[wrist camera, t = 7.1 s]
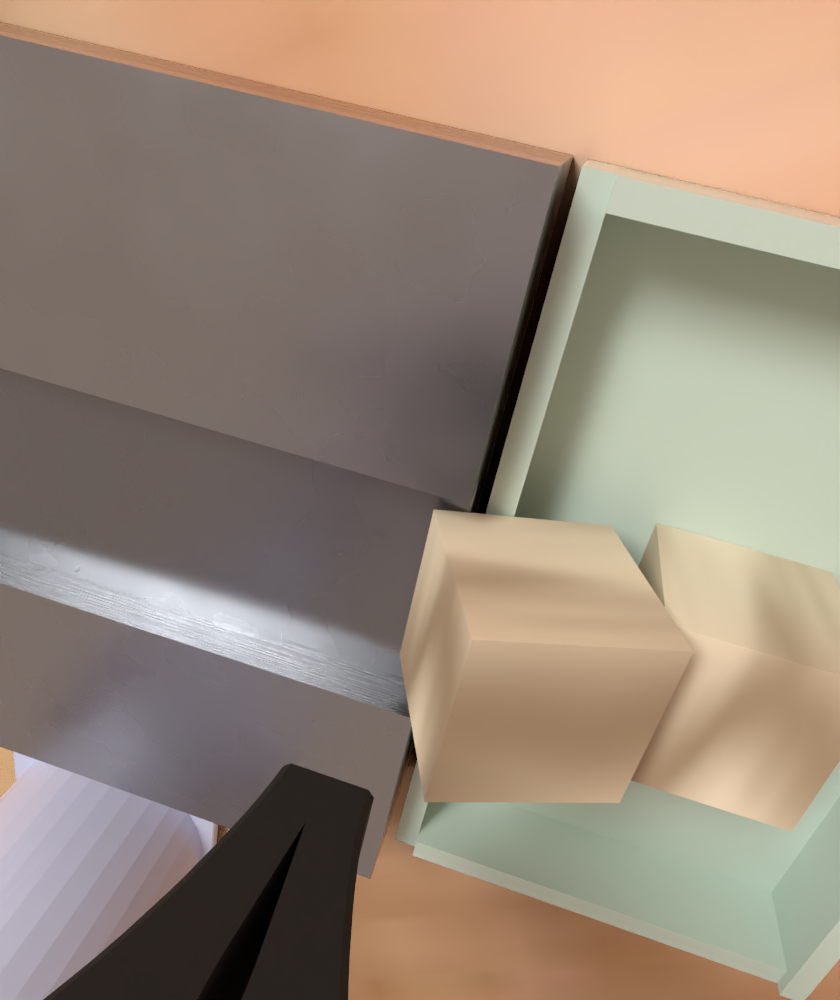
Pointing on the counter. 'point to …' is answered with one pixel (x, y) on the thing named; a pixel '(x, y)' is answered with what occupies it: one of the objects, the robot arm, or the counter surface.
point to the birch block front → (534, 661)
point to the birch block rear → (746, 678)
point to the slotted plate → (237, 413)
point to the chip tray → (683, 505)
